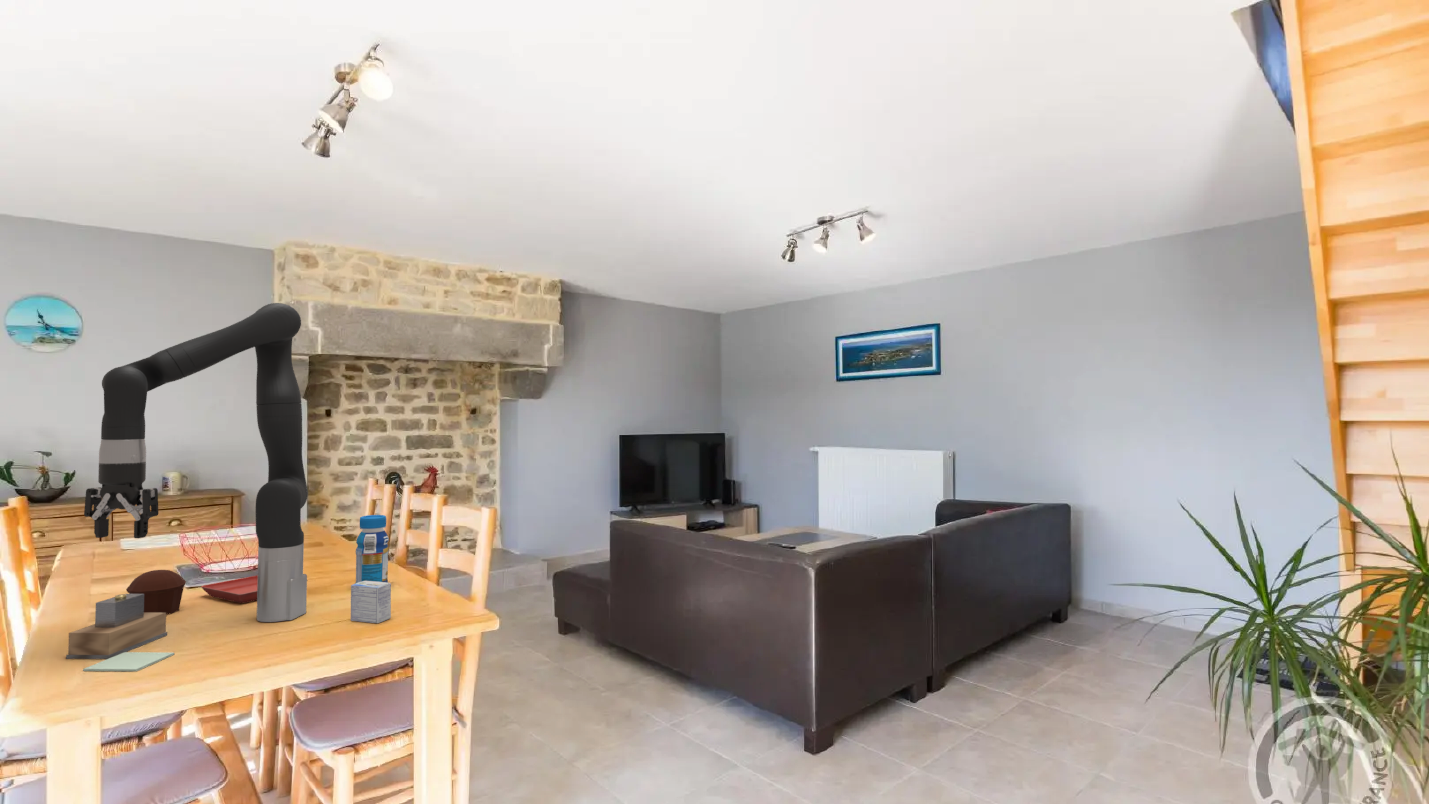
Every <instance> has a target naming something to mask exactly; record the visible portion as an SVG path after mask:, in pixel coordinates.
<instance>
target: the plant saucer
mask: <svg viewBox="0 0 1429 804" xmlns="http://www.w3.org/2000/svg"><path fill="white" fill-rule="evenodd" d="M257 580H258V574H257V575H252V576H247V577H240V578H236V579H231V580H225V581H221V582H219V581H218V582H214V583H210V584H204V585H201V586H200V587H201V589H202V590H203V591H204V592H205V593H206V594H208V595H209V596H210V597H212V598H217V599H220V600H225V601H229V602H234V603H240V604H245V603H251V602H255V601H257ZM308 581H309V580H308V579H307V582H308Z"/></svg>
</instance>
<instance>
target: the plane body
mask: <svg viewBox="0 0 1429 804" xmlns="http://www.w3.org/2000/svg"><path fill="white" fill-rule="evenodd" d="M166 636H168V631H167V615H166V613H155V612H144V617H143V618H140V619H138V620H135V621H132V622H129V623H126V624H123V625H121V626H118V627H115V628H101V627H95V623H94V624H92V625H87V626H85V627H82V628H79V629H75V630H73V631H71V632H68V644H67V647H68V648H67V649H68V650H67V651H68V653H67V654H66V655H65V659H66V660H69V659H70V660H74V659H75V660H80V659H82V660H87V659H88V660H102V659H103V660H107V659H109V658H111V657H114V656H116V655H119V654H121V653H124V652H131V651H132V650H135V649H137V648H139V647H142V646H144V645H146V644H149V643H151V642H152V643H153V642H154V641H157V640H159V639H161V638H164V637H166Z"/></svg>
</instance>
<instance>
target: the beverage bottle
mask: <svg viewBox="0 0 1429 804" xmlns="http://www.w3.org/2000/svg"><path fill="white" fill-rule="evenodd" d="M386 527H387V515H384V514H370V515H362V516H361V517H359V530H361V531H360V533H359V534H358V536H357V537H356V541H355V542H356V545H357V547H356V549H355V556H356V557H355V583H358V582H362V581H376V582H386V583H389V580H388V578H389V574H388V573H389V553H390V546H389V544H388V543H389V541H390V539H389V536H388V534H387V532H386V531H385V528H386Z"/></svg>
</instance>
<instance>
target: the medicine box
mask: <svg viewBox="0 0 1429 804" xmlns="http://www.w3.org/2000/svg"><path fill="white" fill-rule="evenodd" d="M391 597H392V583H391V582H388V583H386V582H376V581H362V582H358V583H356V582H355V583H353V584H351V585H350V621H351V622H352V621H353V622H362V623H369V624H370V623H371V624H372V623H373V624H380V623H383V622H384V621H387V620H389V619H390V620H391V617H392V613H391V612H392V610H391V609H392V603H391V602H392V598H391Z"/></svg>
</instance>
